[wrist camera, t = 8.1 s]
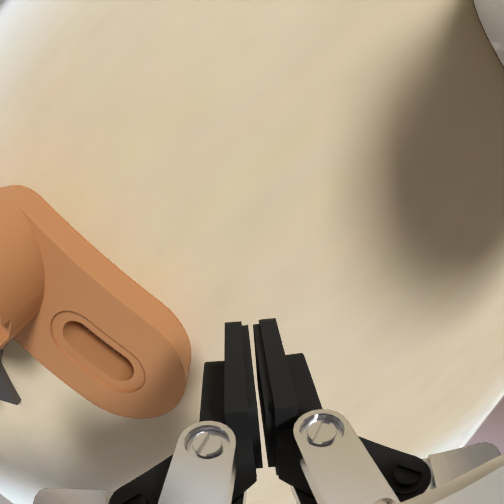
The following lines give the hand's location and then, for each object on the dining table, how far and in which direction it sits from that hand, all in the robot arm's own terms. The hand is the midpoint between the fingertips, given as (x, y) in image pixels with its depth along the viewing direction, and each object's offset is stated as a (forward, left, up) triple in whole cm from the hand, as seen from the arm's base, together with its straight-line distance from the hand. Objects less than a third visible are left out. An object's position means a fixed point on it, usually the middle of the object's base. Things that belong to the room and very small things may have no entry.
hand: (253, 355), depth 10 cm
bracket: (0, -11, -7) cm, 13 cm away
